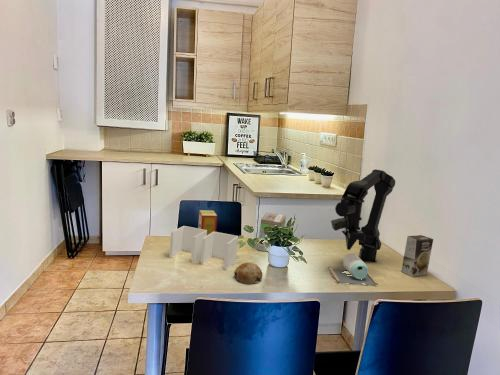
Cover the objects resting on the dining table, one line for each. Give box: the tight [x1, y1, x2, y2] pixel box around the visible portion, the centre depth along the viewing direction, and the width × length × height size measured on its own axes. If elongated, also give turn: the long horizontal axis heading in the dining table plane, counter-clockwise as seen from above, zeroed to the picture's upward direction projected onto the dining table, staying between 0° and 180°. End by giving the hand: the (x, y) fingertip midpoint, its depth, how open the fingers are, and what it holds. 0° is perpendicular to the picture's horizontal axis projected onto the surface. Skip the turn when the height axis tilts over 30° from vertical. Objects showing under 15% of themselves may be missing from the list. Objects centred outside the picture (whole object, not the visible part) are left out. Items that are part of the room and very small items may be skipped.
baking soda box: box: [197, 209, 218, 235], centre depth 181 cm, size 10×6×16 cm
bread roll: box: [233, 262, 263, 285], centre depth 150 cm, size 10×10×8 cm
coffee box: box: [400, 234, 434, 278], centre depth 171 cm, size 9×6×16 cm
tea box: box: [257, 212, 287, 252], centre depth 188 cm, size 15×10×15 cm
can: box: [342, 253, 369, 279], centre depth 163 cm, size 7×7×12 cm
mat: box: [327, 266, 379, 286], centre depth 162 cm, size 16×14×1 cm
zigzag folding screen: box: [169, 225, 239, 271], centre depth 165 cm, size 25×11×11 cm, turn 72°
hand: (348, 249), depth 169 cm, fingers closed
